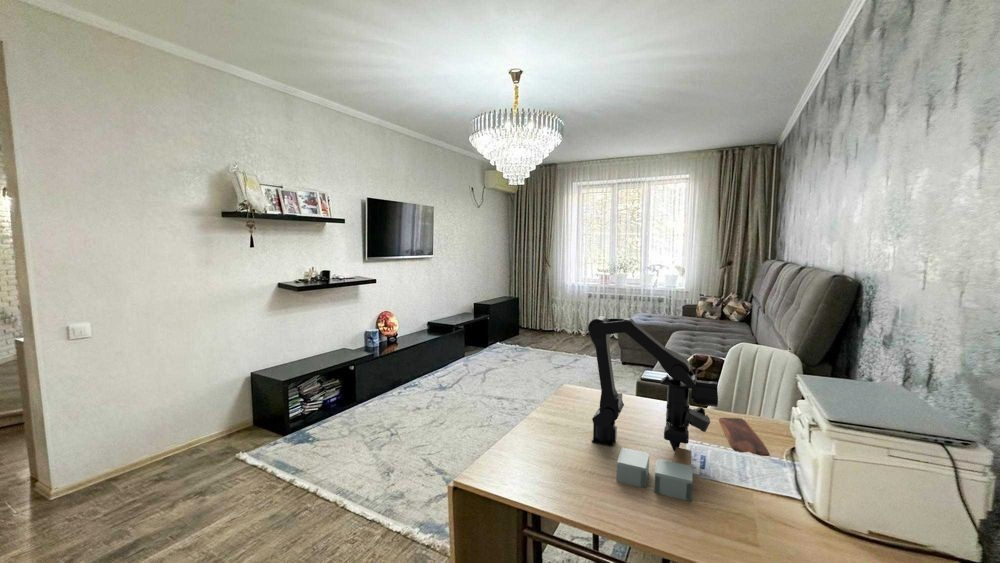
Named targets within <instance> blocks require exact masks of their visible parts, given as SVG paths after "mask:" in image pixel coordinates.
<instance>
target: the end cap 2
mask: <svg viewBox="0 0 1000 563" xmlns="http://www.w3.org/2000/svg"><path fill="white" fill-rule="evenodd" d="M692 492H693V465H690V466H689V465H685V464H680V463H675V462H672V461H669V460H666V459H661V458H657V459H656V465H655V469H654V493H655V494H658V495H662V496H667V497H671V498H675V499H678V500H679V499H680V500H683V501H687V502H691V503H692V497H693V493H692Z"/></svg>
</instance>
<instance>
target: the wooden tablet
mask: <svg viewBox="0 0 1000 563" xmlns="http://www.w3.org/2000/svg"><path fill="white" fill-rule="evenodd" d="M718 422H719V424H720V426H721V429H722V430H723V432H724V434H725V436H726V438H727V440H728V442H729V445H730V446H731V448H732V450H734V451H735V452H740V453H751V454H753V455H758V456H765V457H766V456H769V455H770V451H769V450H768V449H767V447H766V445H765V444H764V441H762V439H761V438H760V437H759V436H758V434H757V433H756V432H755V431H754V429H753V428H752V426H750V424H748V422H747V421H746V420H745V419H743V418H738V417H719V419H718Z"/></svg>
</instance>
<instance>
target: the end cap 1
mask: <svg viewBox="0 0 1000 563" xmlns="http://www.w3.org/2000/svg"><path fill="white" fill-rule="evenodd" d="M649 469H650V453H649V452H645V451H641V450H637V449H631V448H628V447H627V448H626V447H621V449H620V452H619V456H618V458H617V461H616V482H617V483H623V484H627V485H630V486H634V487H639V488H643V489H646V487H647V483H648V476H649V472H650V470H649Z"/></svg>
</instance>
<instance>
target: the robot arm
mask: <svg viewBox="0 0 1000 563" xmlns="http://www.w3.org/2000/svg"><path fill="white" fill-rule="evenodd" d="M587 331H588V335H589V336H590V340H591V342H592V343H593V346H594V349H595V354H596V355H595V356H596V361H597V367H598V368H597V369H598V376H599V382H600V390H601V392H600V401H599V408H598V409H597V410H596V412H595V414H594V415H593V417H592V418H591V421H592V423H593V424H592V425H593V427H592V428H593V429H592V430H593V432H592V433H593V434H592V436H593V437H592V439H591V442H592V443H593V444H600V445H605V446H610V447H613V446H614V444H615V443H616V441H617V437H618V435H617V434H618V433H617V431H618V426H616V421H617V419H618V418H619V416H620V414H621V412H622V411H623V408H624V406H625V404H624V401H623V393H621V392H619V393H618V392H617V389H616V385H615V379H614V370H613V363H612V357H611V349H610V340H611V335H614V334H623V333H624V334H626V335H627V336H628V337H629V338H631V339H632V340H633V341H634V342H636V344H638V345H639V346H640V347H642V349H644V350H645V351H647V353H649V354H650V356H652V357H653V358H655V360H657V361H658V363H659V364H660V366H661V368H662V369H663V370H664V371H665V372H666V375H665V377H663V378H661V380H660V385H663V386H667V392H666V393H667V394H666V413H665V417H666V418H665V426H664V429H663V430H664V431H663V439H664V440H665V441H669V444H670V446H671V449H672V451H673V452H674V453H675V450H676V447H679V448H680V446H681V444H684V445H685V444H686V445H687V444H689V443H690V442H689V440H690V439H689V438H690V437H689V436H690V434H689V429H688V428H689V427H690V425H691V426H692V427H695V428H696V429H699V431H700V432H703V433H706V432H707V429H708V428H709V426H710V424H711V419H710V418H711V417H709V415H708V414H706V410H705V408H703V407H701V406H707V407H714V408H718V407H719V406H718V405H719V392H718V386H719V385H718V384H719V383H718V382H717V381H707V380H700V379H699V380H698V379H697V375H695V373H694V372H693V371H692V369H691V364H690V361H689V360H688V359H687V358H686V357H684V356H683V355H681V354H679V353H678V352H676V351H673V350H672V349H669V348H667V347H665V346H664V345H663V344H662V343H661V342H660V341H658V340H657V339H656V338H654V337H653V336H652V335H651V334H649V333H648V332H647V331H646V330H644V328H642V326H640V325H639V324H638V323H636V322H635V320H634V319H633V318H630V317H626V318H619V317H618V318H617V317H615V318H613V317H612V318H607V317H606V316H603V315H600V316H596V317H595V318H593V319H592V320H590V321H589V323H588V325H587ZM690 389H691V398H690V400H692V401H693V403H695V405H701V406H699V407H697V408H696V409H695V408H693V409H692V408H691V407H690V403H689V402H690V401H689V396H690Z"/></svg>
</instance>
